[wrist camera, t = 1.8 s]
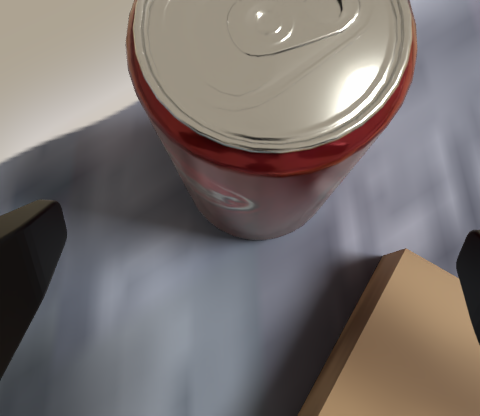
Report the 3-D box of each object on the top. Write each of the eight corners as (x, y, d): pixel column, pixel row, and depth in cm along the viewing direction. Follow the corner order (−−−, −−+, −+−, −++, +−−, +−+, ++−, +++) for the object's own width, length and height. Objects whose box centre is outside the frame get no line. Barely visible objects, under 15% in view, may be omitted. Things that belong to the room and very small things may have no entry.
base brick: (475, 544, 18) (521, 593, 15) (292, 425, 19) (301, 448, 16) (555, 355, 19) (611, 365, 16) (382, 255, 20) (405, 248, 17)
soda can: (205, 257, 20) (150, 203, 9) (174, 125, 22) (93, -72, 10) (345, 222, 21) (475, 123, 9) (305, 94, 22) (372, -132, 11)
